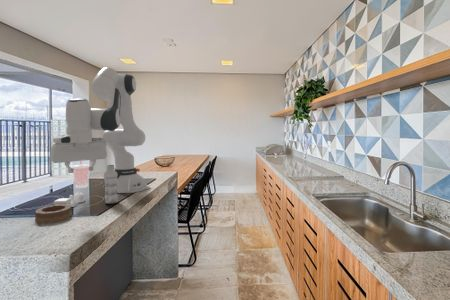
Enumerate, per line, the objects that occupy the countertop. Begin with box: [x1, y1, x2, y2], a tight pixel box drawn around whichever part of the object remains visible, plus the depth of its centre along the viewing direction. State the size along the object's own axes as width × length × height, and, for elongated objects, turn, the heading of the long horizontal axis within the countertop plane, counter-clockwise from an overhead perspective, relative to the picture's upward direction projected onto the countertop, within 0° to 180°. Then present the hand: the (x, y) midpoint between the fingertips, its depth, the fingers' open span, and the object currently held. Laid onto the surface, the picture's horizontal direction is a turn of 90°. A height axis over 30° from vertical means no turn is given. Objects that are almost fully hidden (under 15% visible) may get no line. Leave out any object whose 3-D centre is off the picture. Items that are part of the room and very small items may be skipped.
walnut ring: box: [34, 204, 73, 224], centre depth 106 cm, size 12×12×4 cm
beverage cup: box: [71, 161, 90, 189], centre depth 101 cm, size 6×6×14 cm
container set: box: [53, 191, 86, 208], centre depth 123 cm, size 20×5×6 cm, turn 5°
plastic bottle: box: [103, 164, 119, 205], centre depth 126 cm, size 6×7×20 cm
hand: (81, 171), depth 101 cm, fingers closed on beverage cup, 6 cm apart
